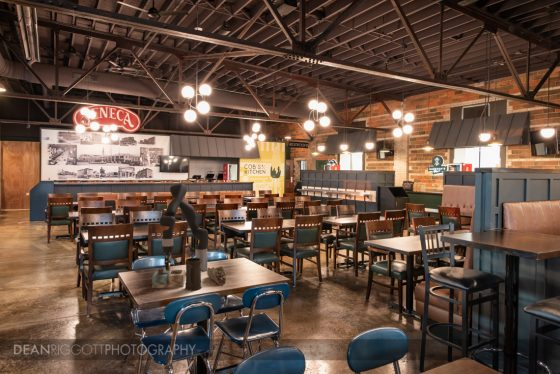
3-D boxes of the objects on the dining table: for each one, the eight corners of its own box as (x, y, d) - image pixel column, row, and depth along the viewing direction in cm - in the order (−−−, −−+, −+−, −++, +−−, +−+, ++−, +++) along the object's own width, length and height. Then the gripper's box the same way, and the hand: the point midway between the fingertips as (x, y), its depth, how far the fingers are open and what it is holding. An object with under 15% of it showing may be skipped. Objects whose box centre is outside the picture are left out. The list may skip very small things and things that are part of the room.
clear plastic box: (185, 281, 264) (184, 265, 264) (183, 286, 250) (182, 270, 250) (155, 282, 261) (155, 267, 261) (152, 288, 247) (152, 271, 247)
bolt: (170, 272, 257) (170, 262, 257) (169, 273, 254) (169, 263, 254) (157, 272, 256) (157, 263, 255) (157, 273, 253) (157, 264, 253)
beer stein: (186, 285, 253) (186, 257, 251) (202, 285, 253) (202, 256, 252) (182, 294, 237) (182, 263, 235) (199, 293, 238) (199, 263, 236)
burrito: (215, 286, 251) (215, 271, 251) (204, 277, 275) (204, 263, 275) (229, 284, 256) (229, 270, 255) (216, 275, 279) (216, 262, 279)
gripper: (172, 246, 248) (172, 270, 249) (174, 243, 263) (174, 265, 263) (160, 247, 247) (160, 271, 248) (163, 243, 261) (163, 266, 262)
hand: (168, 268), depth 255 cm, fingers open, 8 cm apart
